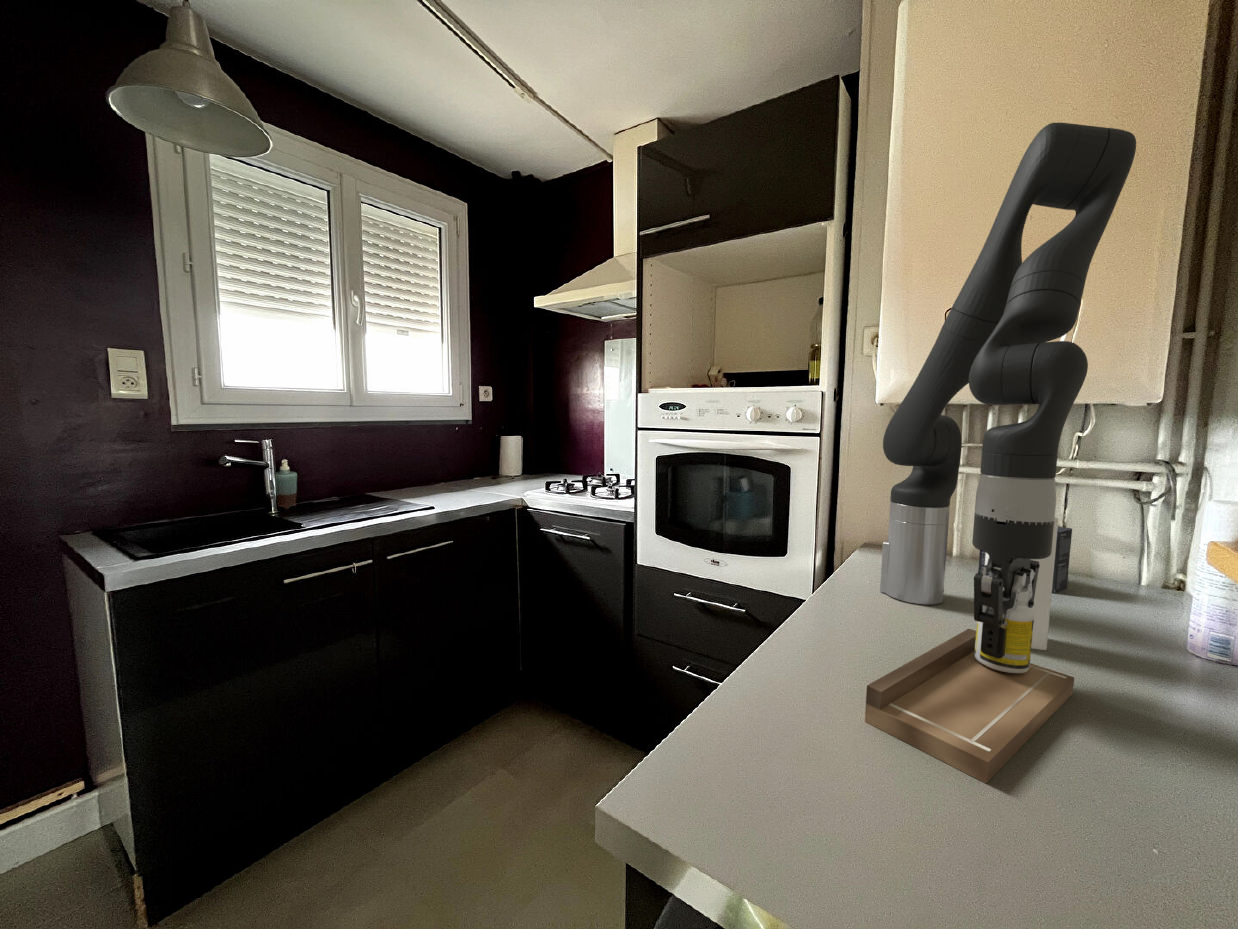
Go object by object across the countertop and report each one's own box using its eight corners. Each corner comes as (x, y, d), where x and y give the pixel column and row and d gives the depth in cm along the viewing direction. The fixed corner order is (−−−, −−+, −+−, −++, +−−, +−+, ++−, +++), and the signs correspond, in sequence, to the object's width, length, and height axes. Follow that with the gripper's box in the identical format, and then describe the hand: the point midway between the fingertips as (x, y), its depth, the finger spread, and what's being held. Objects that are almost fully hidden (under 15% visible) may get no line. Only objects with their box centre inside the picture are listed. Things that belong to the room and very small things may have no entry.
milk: (997, 646, 72) (1009, 494, 70) (978, 629, 77) (989, 488, 75) (1048, 651, 70) (1061, 495, 68) (1024, 633, 76) (1036, 489, 74)
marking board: (864, 721, 53) (866, 685, 53) (966, 656, 68) (968, 628, 68) (986, 783, 44) (990, 741, 44) (1072, 693, 59) (1075, 661, 59)
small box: (1068, 588, 97) (1074, 527, 96) (1055, 594, 94) (1061, 531, 93) (990, 570, 108) (994, 516, 107) (975, 575, 105) (980, 519, 104)
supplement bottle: (1039, 677, 58) (1047, 596, 57) (987, 672, 59) (994, 592, 58) (1013, 656, 63) (1019, 581, 63) (965, 651, 65) (971, 578, 64)
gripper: (998, 503, 67) (988, 625, 68) (952, 514, 59) (941, 652, 60) (1072, 512, 61) (1059, 645, 62) (1031, 525, 52) (1018, 679, 54)
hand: (1001, 648), depth 61 cm, fingers closed on supplement bottle, 5 cm apart
